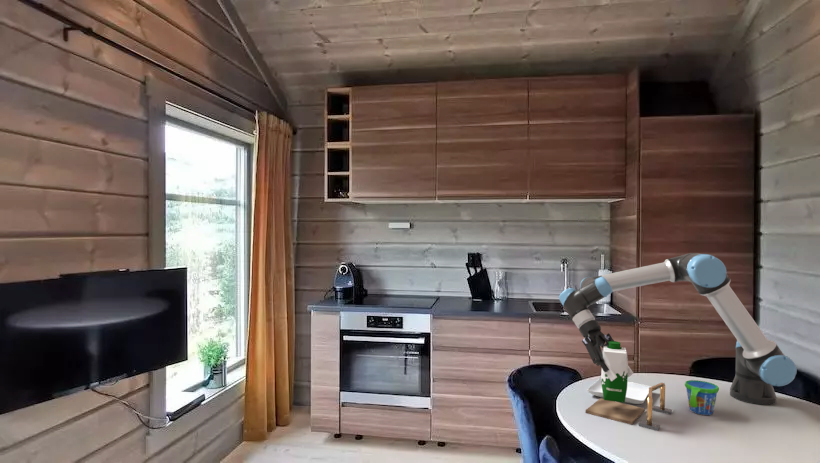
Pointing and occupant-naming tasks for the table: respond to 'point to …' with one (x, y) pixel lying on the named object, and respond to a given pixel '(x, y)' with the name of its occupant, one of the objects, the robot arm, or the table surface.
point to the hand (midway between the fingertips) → (622, 377)
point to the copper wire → (655, 407)
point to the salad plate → (633, 395)
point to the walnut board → (615, 411)
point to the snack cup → (701, 396)
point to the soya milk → (619, 365)
